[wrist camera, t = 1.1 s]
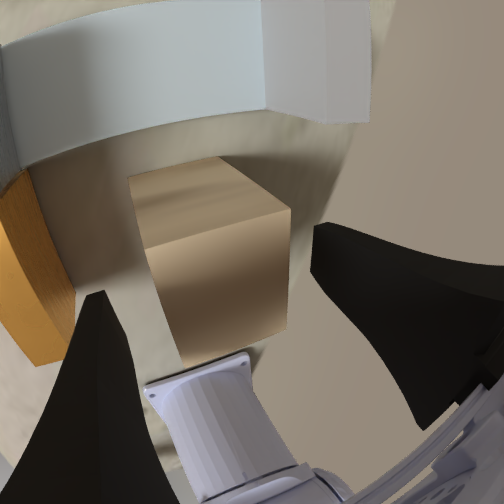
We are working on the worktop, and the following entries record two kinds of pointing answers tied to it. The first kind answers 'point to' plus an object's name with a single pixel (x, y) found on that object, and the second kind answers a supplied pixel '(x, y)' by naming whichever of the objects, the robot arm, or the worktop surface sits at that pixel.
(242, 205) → the block
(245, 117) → the worktop surface
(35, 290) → the free jaw
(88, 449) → the robot arm
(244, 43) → the vise
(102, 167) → the worktop surface
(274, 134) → the worktop surface
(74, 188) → the worktop surface
